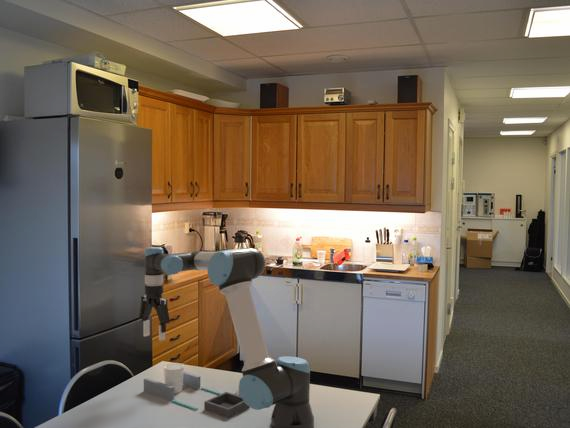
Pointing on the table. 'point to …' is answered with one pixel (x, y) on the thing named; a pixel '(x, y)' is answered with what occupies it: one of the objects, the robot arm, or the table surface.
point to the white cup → (174, 376)
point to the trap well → (225, 404)
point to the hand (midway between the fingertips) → (154, 337)
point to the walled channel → (167, 390)
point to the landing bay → (193, 406)
